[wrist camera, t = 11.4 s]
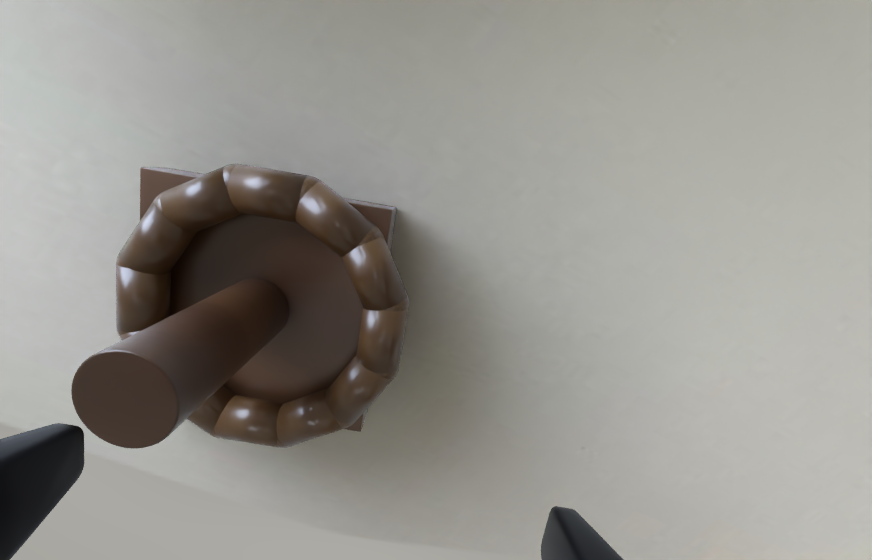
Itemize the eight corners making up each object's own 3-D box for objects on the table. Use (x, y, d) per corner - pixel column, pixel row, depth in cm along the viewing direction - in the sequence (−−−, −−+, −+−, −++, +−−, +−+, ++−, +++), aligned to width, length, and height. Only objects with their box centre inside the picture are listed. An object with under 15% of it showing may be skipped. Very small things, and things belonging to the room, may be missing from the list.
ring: (387, 446, 18) (381, 473, 16) (136, 407, 17) (106, 429, 16) (427, 194, 15) (425, 196, 14) (138, 145, 15) (103, 141, 14)
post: (367, 412, 19) (306, 594, 11) (161, 379, 19) (-61, 537, 11) (397, 207, 17) (351, 235, 9) (166, 167, 17) (-106, 157, 8)
